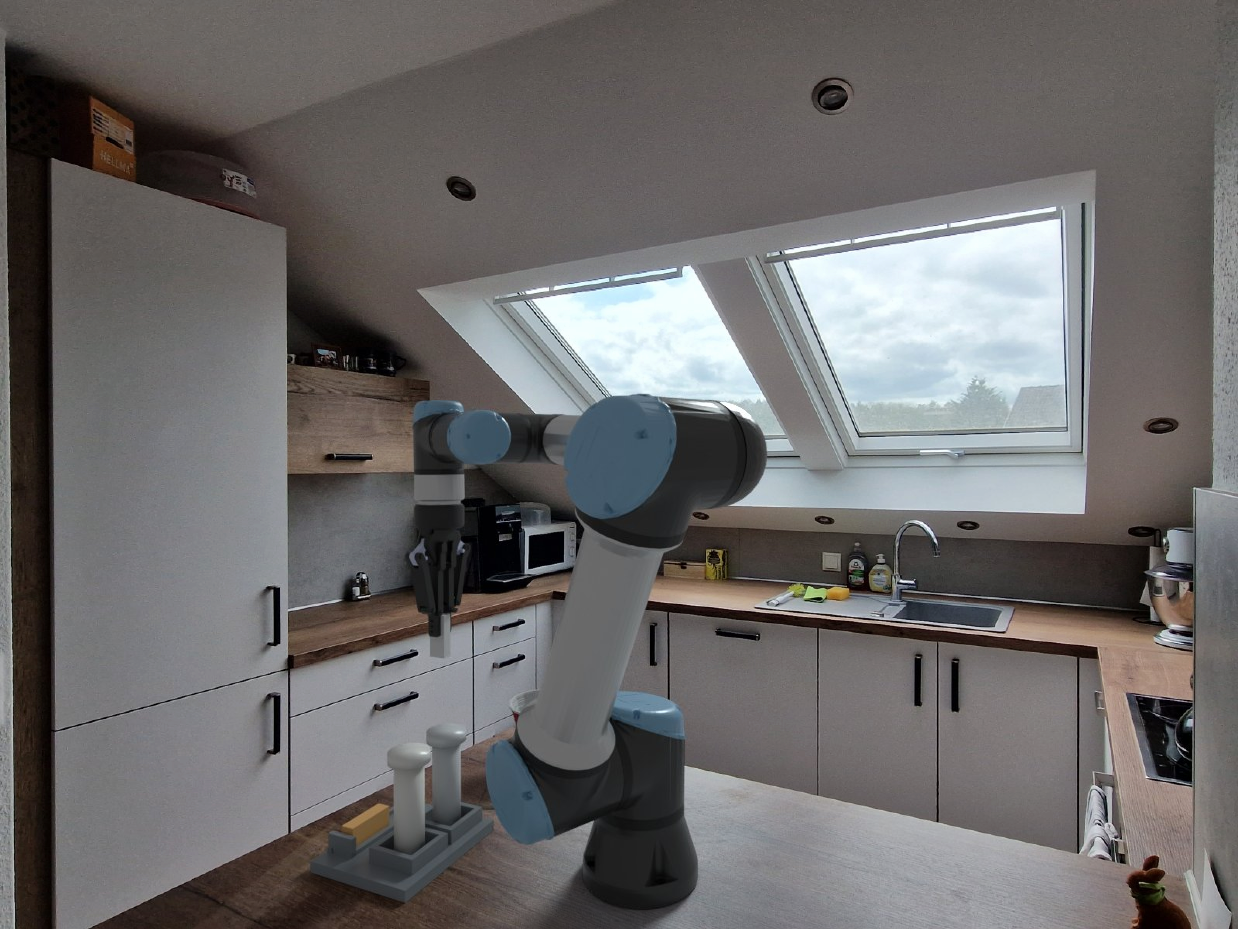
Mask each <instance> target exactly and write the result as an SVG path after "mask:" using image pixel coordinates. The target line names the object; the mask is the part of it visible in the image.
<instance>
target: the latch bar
mask: <svg viewBox="0 0 1238 929" xmlns="http://www.w3.org/2000/svg"><path fill="white" fill-rule="evenodd" d="M389 808H390V805H387V804H383V803H377V804H375V805H374V806H372V807H370V808H369V809H367V810H365V811H363V812H362V813H360V814H359V815H357V816H355V817H354V818H352V819H351V820H349V821H348V822H345V823H344V824H341V833H344V834H348V835H351V836H355V837H356V847H357V846H358V845H360V844H361V843H363V842H364V841H366V840H367V839H369V838H370V837H372V836H373V835H375V834H376V833H378V832H379V831H381V830H382V829H384V828H385V827H387V826H388V825H389Z"/></svg>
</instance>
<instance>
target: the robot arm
mask: <svg viewBox="0 0 1238 929" xmlns="http://www.w3.org/2000/svg"><path fill="white" fill-rule="evenodd" d="M412 419H413V420H412V423H411V427H412V430H413V431H412V437H413V438H412V439H413V440H412V442H413V443H412V444H413V451H412V452H413V479H414V480H413V486H414V488H413V499H414V500H415V501H417V502H418V503H417V504H415V505H414V506H413V527H414V528H415V529H417V530H418V537H417V540H416V545H417V546H416V548H414V549H413V551H406V553H405V556H404V558H405V560H406V561H407V564H408V566H409V569H410V575H411V580H412V584H413V591H414V596H415V603H416V608H417V612H418V613H420V614H423V615H426V616H427V617H428V619H427V621H428V622H427V625H428V627H427V628H428V630H427V631H428V636H429V657H431V658H438V659H447V658H449V657H451V632H452V614H456V613H458V610H459V608H458V607H460V606H461V604H462V597H463V591H464V590H463V589H464V582H465V575H466V567H467V560H468V557H469V555H470V551H471V544H470V543H464V542H463V541H462V538H461V537H462V536H461V533H460V529H461V528H463V527H464V526H465V505H464V504H463V503H462V501H463V500H464V499H465V498H466V496H465V494H466V493H465V492H466V491H465V488H466V487H465V464H466V465H470V466H478V465H480V466H483V465H491V464H496V465H499V464H500V465H501V464H503V465H504V464H508V465H509V464H545V465H554V466H563V470H564V471H566V472H567V475H566V476H565V478H564V485H565V487H566V491H567V492H568V495H569V498H570V500H571V501H572V503H573V505H574V506H575V508H574V515H575V516H576V518H577V519H578V521H579V523H580V525H581V526H582V527H583V529H584V531H583V533H582V537H581V541H580V544H579V549H578V552H577V556H576V559H575V562H574V566H573V569H572V573H571V576H570V579H569V580H570V581H569V584H568V587H567V591H566V593H565V598H564V602H563V604H562V605H563V606H562V608H561V613H560V616H559V620H558V623H557V626H556V630H555V634H554V638H553V641H552V645H551V648H550V653H549V656H548V659H547V664H546V666H545V670H544V674H543V677H542V681H541V684H540V688H539V690H540V691H539V695H538V698H537V699H535V700H533V701H531V702H530V703H528V704H527V705H526V706H525V707H524V708H523V710H522V711H521V712H520V715H519V718H518V721H517V725H516V724H515V729H514V732H513V735H512V737H510V738H507V739H506V738H501V739H499V740H498V741H497V742H494V743H493V744H492V745H491V746H490V747H489V749H488V750H487V752H486V756H485V762H484V764H485V765H484V766H485V767H484V768H485V769H484V770H485V772H484V773H485V780H486V781H485V782H486V785H487V786H486V788H487V790H488V794H489V797H490V802H491V804H492V805H491V806H493V807H494V809H493V810H494V812H495V815H496V817H497V818H498V820H499V822H500V824H501V826H502V827H503V829H504V830H505V832H506V833H507V835H509V837H511V839H512V840H514V841H515V842H517V843H519V844H524V845H527V846H528V845H530V846H531V845H534V844H536V843H539V842H542V841H552V840H553V839H554V838H556V837H558V836H560V835H562V834H565V833H568V832H570V831H572V830H574V829H577V828H579V827H581V826H584V825H586V824H589V823H591V822H593V823H592V826H591V829H590V831H589V836H588V838H587V840H586V841H587V842H586V845H585V848H584V851H583V855H582V879H583V883H584V885H585V887H586V888H587V890H589V891H590V892H591V893H592V894H593V895H594V896H595V897H596V898H598V899H600V900H602V901H604V902H606V903H609V904H612V905H614V906H619V907H623V908H628V909H641V910H642V909H645V910H646V909H647V910H648V909H656V908H661V907H665V906H666V907H667V906H669V905H672V904H675V903H677V902H679V901H681V900H682V899H685V897H687V896H689V895H690V893H691V892H692V891H693V890H694V889H695V888H696V886H697V883H698V879H699V860H698V858H699V857H698V854H697V851H696V847H695V844H694V842H693V838H692V835H691V832H690V829H689V826H688V823H687V819H686V816H685V761H686V760H685V759H686V758H685V756H686V755H685V754H686V753H685V752H686V750H685V748H686V747H685V746H686V744H685V742H686V739H687V737H686V734H685V728H684V726H685V724H684V714H683V712H682V708H680V706H679V705H678V704H677V703H676V702H674V701H672V700H670V699H668V698H666V697H663V696H659V695H656V694H652V693H646V692H640V691H628V690H626V691H624V690H622V691H621V690H620V688H621V685H622V682H623V679H624V676H625V672H626V670H627V666H628V664H629V660H630V656H632V652H633V647H634V645H635V641H636V639H637V635H638V632H639V629H640V626H641V624H642V620H643V617H644V615H645V611H646V608H647V605H648V602H649V599H650V596H651V593H652V590H653V586H654V583H655V581H656V577H657V574H658V571H659V568H660V565H661V562H662V558H663V555H664V553H667V552H670V551H672V550H674V549H675V550H676V549H677V548H678V547H680V546H681V545H682V543H683V541H684V539H685V535H686V532H687V530H688V528H689V525H690V521H691V518H692V516H693V513H694V511H695V512H696V511H703V510H714V509H722V508H724V507H725V508H726V507H729V506H732V505H735V504H737V503H739V502H740V501H742V500H744V499H745V498H746V497H747V496H749V495H750V494H751V493H752V492H753V491H754V490H755V488H756V487H757V486H758V485H759V484H760V481H761V479H762V477H763V476H764V473H765V470H766V466H767V461H768V449H767V448H768V446H767V441H766V438H765V435H764V432H763V430H762V428H761V427H760V425H759V424H758V422H757V420H755V419H754V417H753V416H752V415H751V414H749V413H748V411H746V410H744V409H743V408H741V407H740V406H737V405H735V404H732V403H730V402H727V401H721V400H718V399H717V400H713V399H698V398H697V399H696V398H683V397H668V396H658V395H657V396H656V395H655V396H654V395H651V394H650V393H636V394H629V395H627V394H626V395H612V396H608V397H604V398H602V399H600V400H599V401H597V402H596V403H593V404H591V405H590V406H589V407H588V408H587V409H585V411H583V413H582V414H581V415H579V414H578V415H577V414H576V415H575V414H564V413H551V414H550V413H549V414H548V413H519V412H502V411H501V412H500V411H499V412H498V411H497V412H496V411H493V410H487V409H476V408H474V409H468V410H464V406H463V404H462V403H461V402H460V401H454V400H441V399H439V400H434V399H433V400H432V399H431V400H422V401H421V400H420V401H418V402H416V404H414V407H413V418H412Z"/></svg>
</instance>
